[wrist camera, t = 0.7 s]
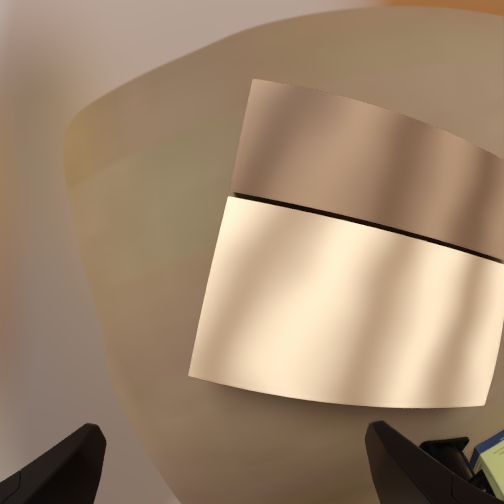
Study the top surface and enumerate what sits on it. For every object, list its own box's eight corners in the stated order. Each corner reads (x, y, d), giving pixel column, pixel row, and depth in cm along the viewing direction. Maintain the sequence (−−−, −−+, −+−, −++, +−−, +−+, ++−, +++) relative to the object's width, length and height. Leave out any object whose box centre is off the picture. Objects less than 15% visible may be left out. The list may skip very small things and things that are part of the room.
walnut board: (511, 171, 16) (523, 171, 14) (497, 257, 17) (508, 261, 15) (255, 87, 17) (252, 78, 15) (233, 191, 18) (229, 191, 17)
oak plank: (495, 268, 17) (508, 266, 15) (472, 400, 15) (484, 405, 14) (230, 204, 18) (228, 196, 16) (194, 369, 16) (188, 375, 15)
